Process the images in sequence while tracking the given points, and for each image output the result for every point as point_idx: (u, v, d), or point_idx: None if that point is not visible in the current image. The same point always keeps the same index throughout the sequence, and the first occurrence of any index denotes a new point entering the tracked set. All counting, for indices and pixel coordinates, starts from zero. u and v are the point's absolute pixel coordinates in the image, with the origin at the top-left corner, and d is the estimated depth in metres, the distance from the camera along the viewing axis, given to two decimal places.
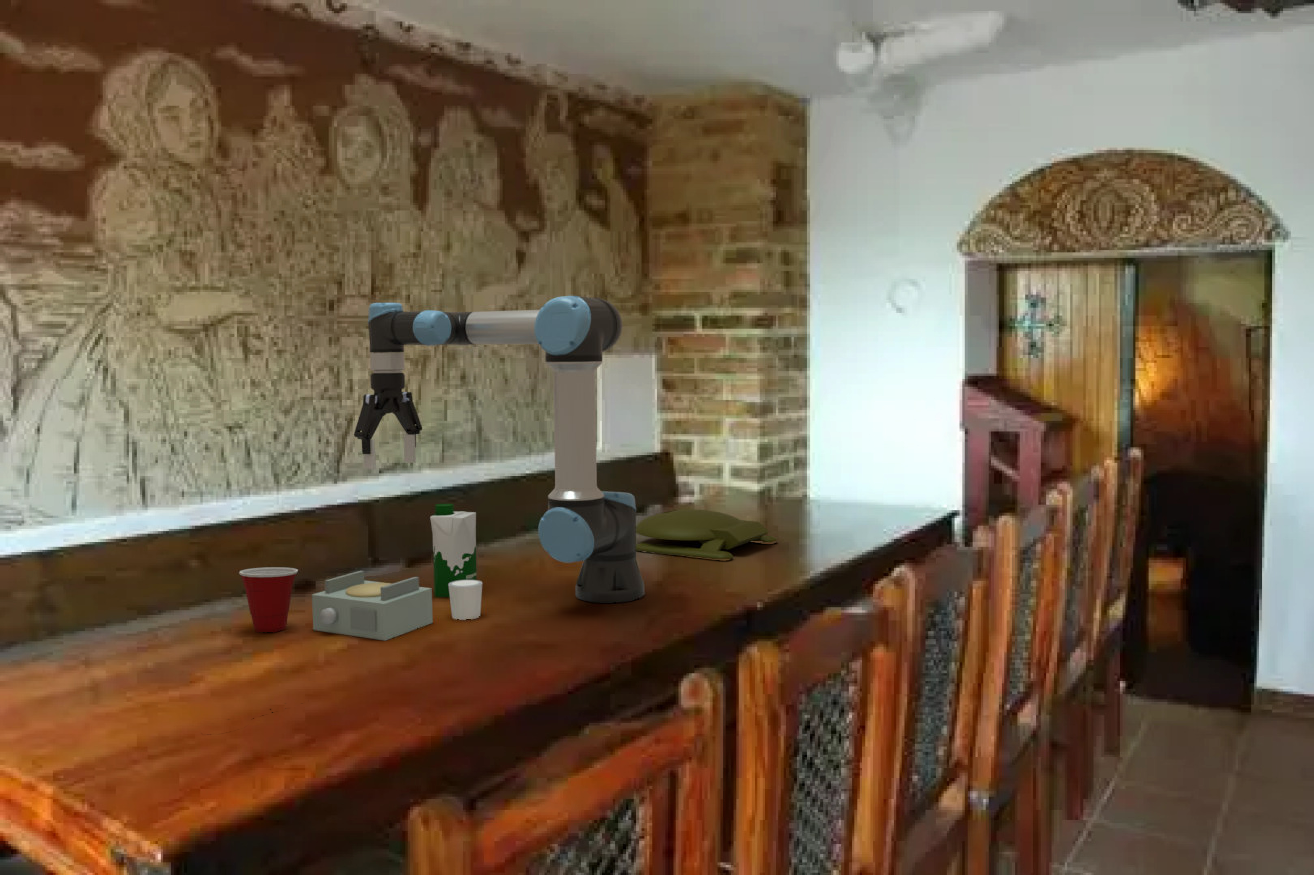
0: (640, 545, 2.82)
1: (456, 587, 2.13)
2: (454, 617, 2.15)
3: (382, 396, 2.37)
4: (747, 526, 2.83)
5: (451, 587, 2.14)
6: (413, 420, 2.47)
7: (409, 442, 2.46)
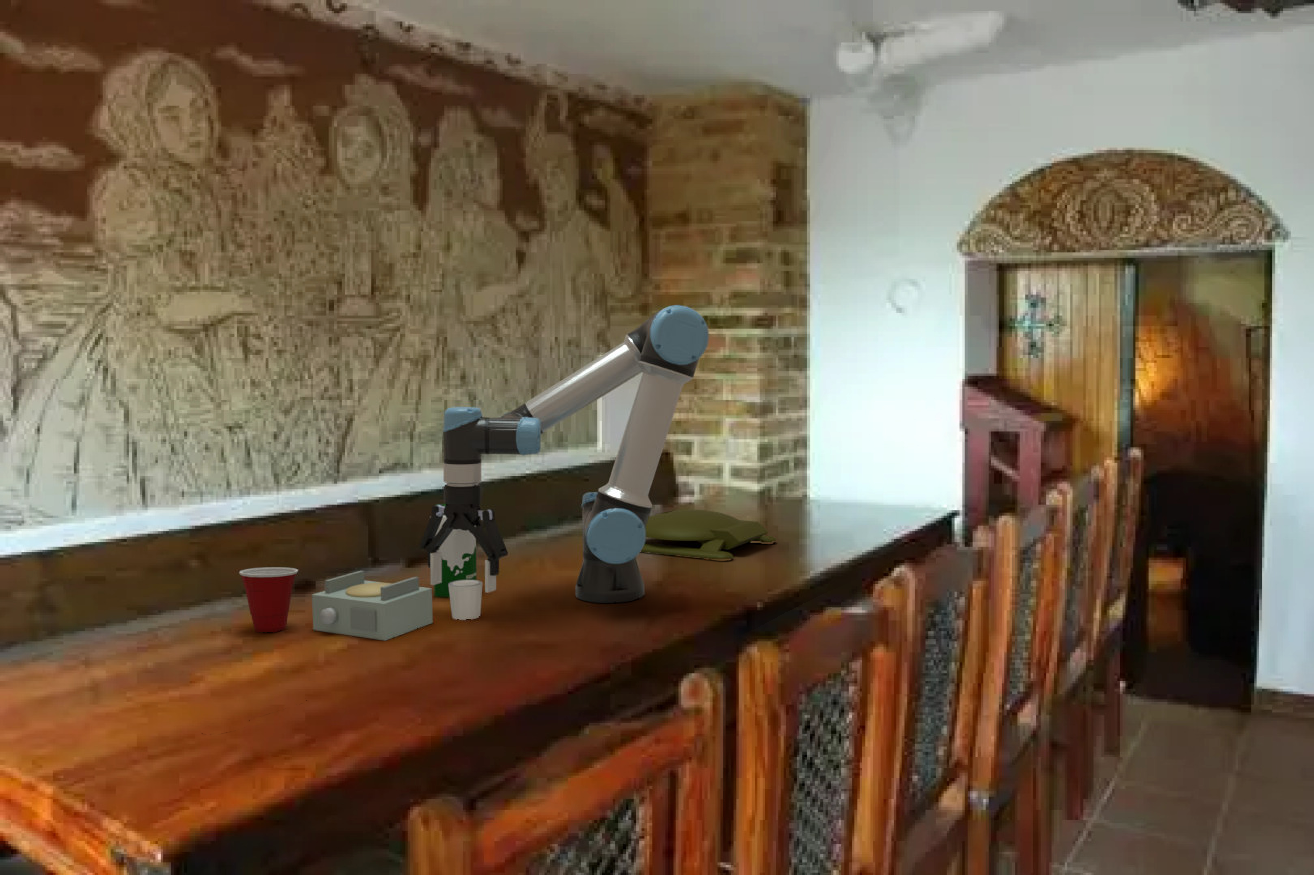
0: None
1: (456, 587, 2.13)
2: (454, 617, 2.15)
3: (446, 509, 2.15)
4: (747, 526, 2.83)
5: (451, 587, 2.14)
6: None
7: None
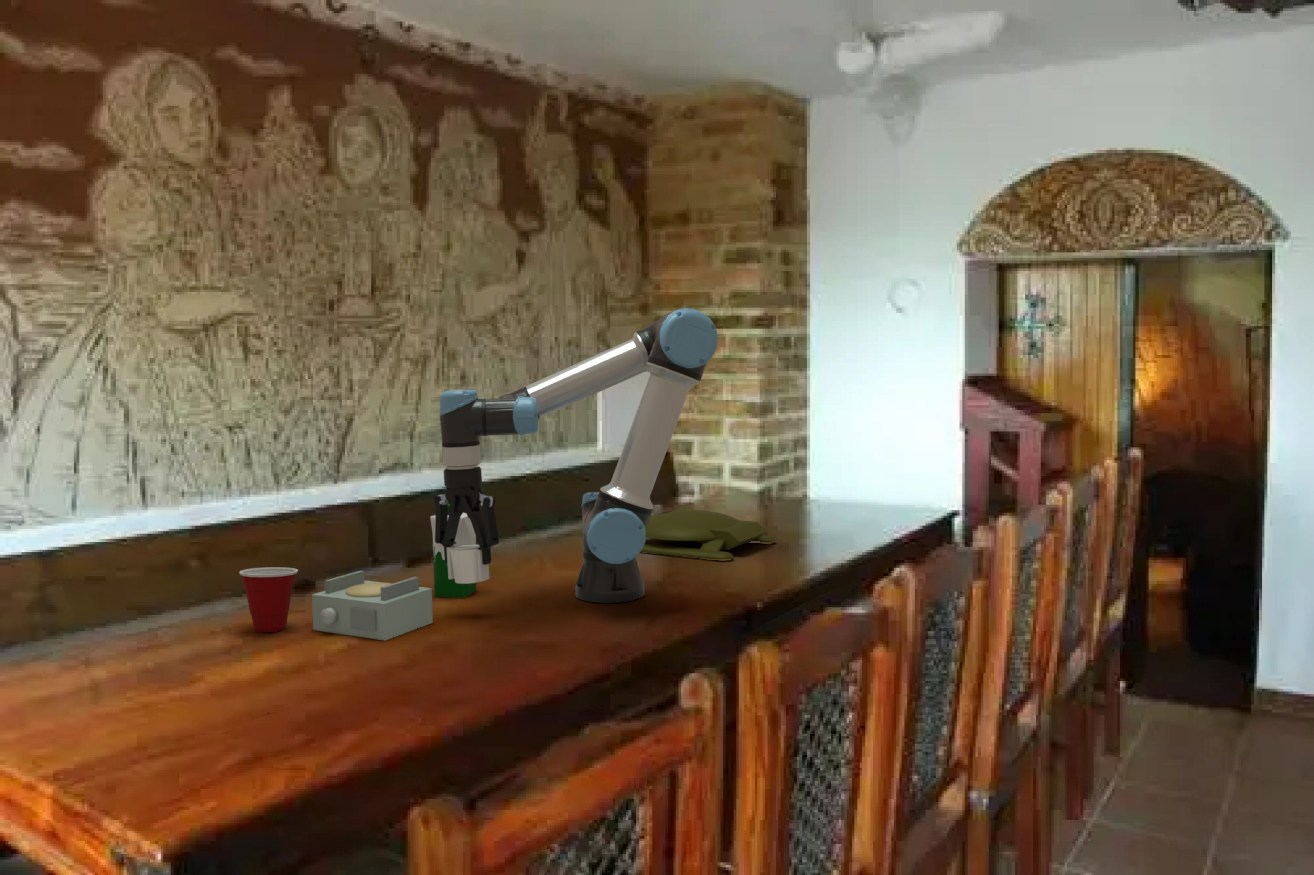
0: None
1: (458, 551, 2.13)
2: (457, 581, 2.14)
3: (447, 493, 2.15)
4: (746, 526, 2.83)
5: (453, 551, 2.13)
6: None
7: None
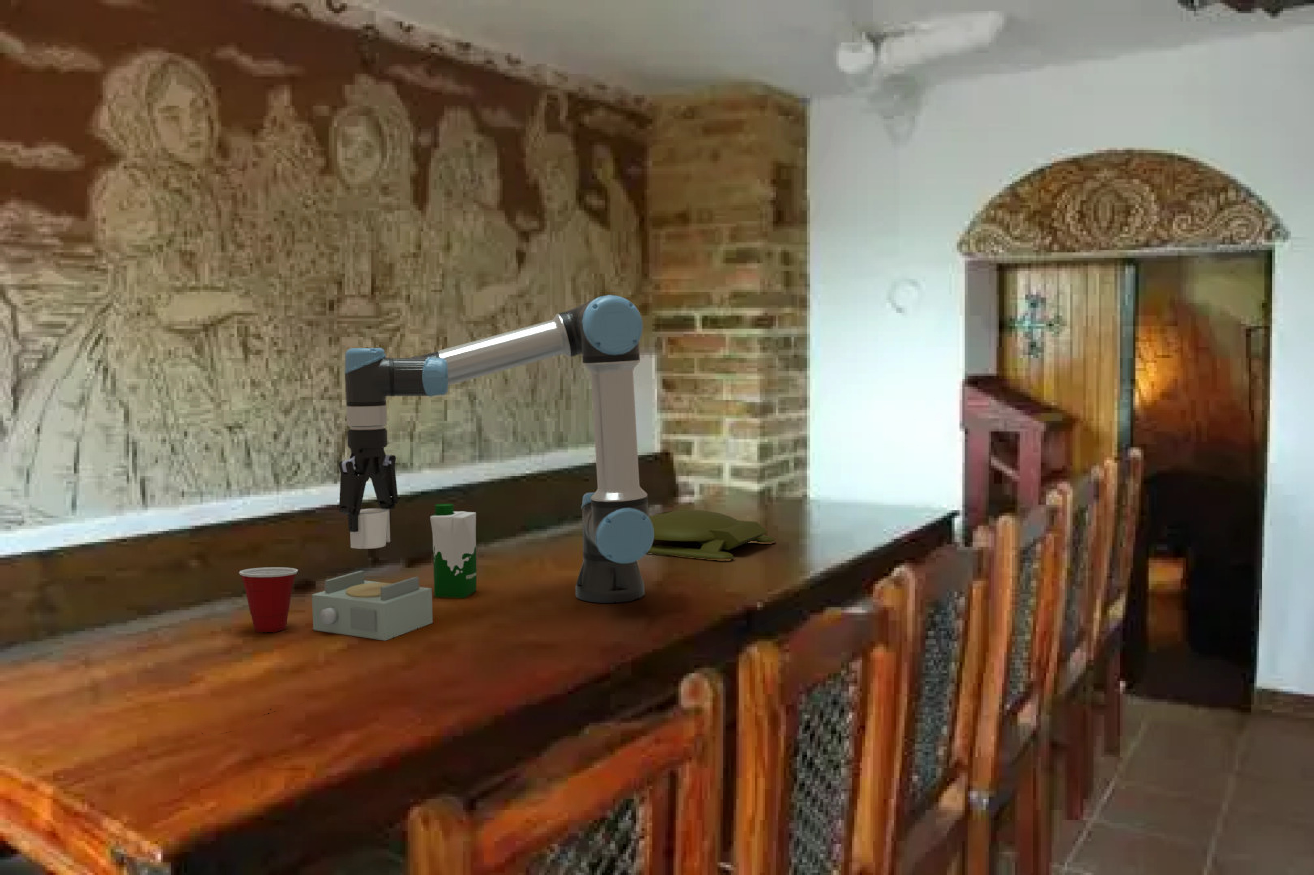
0: None
1: (383, 512, 2.06)
2: (378, 546, 2.06)
3: (360, 457, 2.03)
4: (746, 526, 2.83)
5: (378, 514, 2.05)
6: (390, 489, 2.12)
7: None
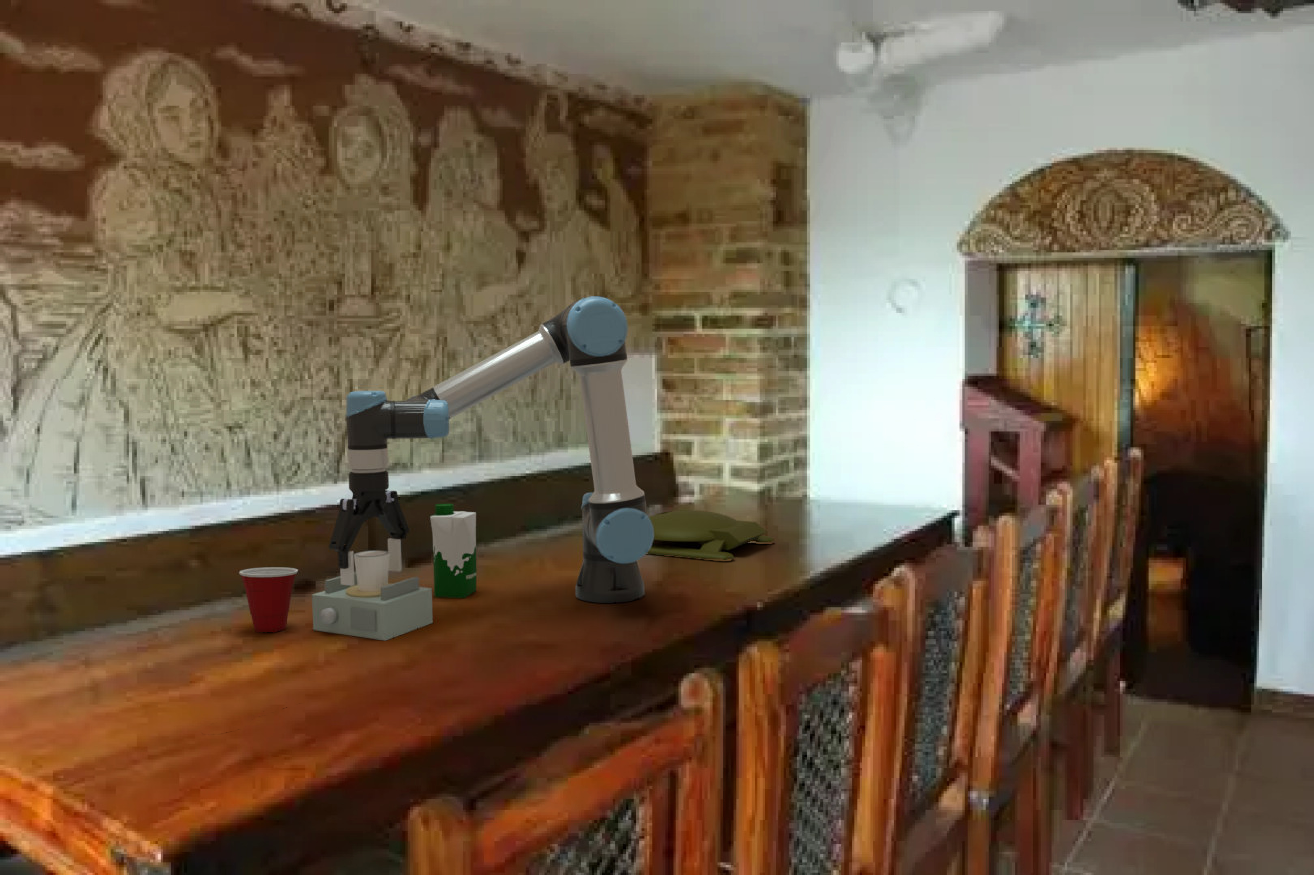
0: None
1: (386, 555, 2.07)
2: (380, 589, 2.07)
3: (362, 500, 2.04)
4: (745, 526, 2.82)
5: (380, 557, 2.06)
6: (399, 522, 2.15)
7: (394, 548, 2.14)
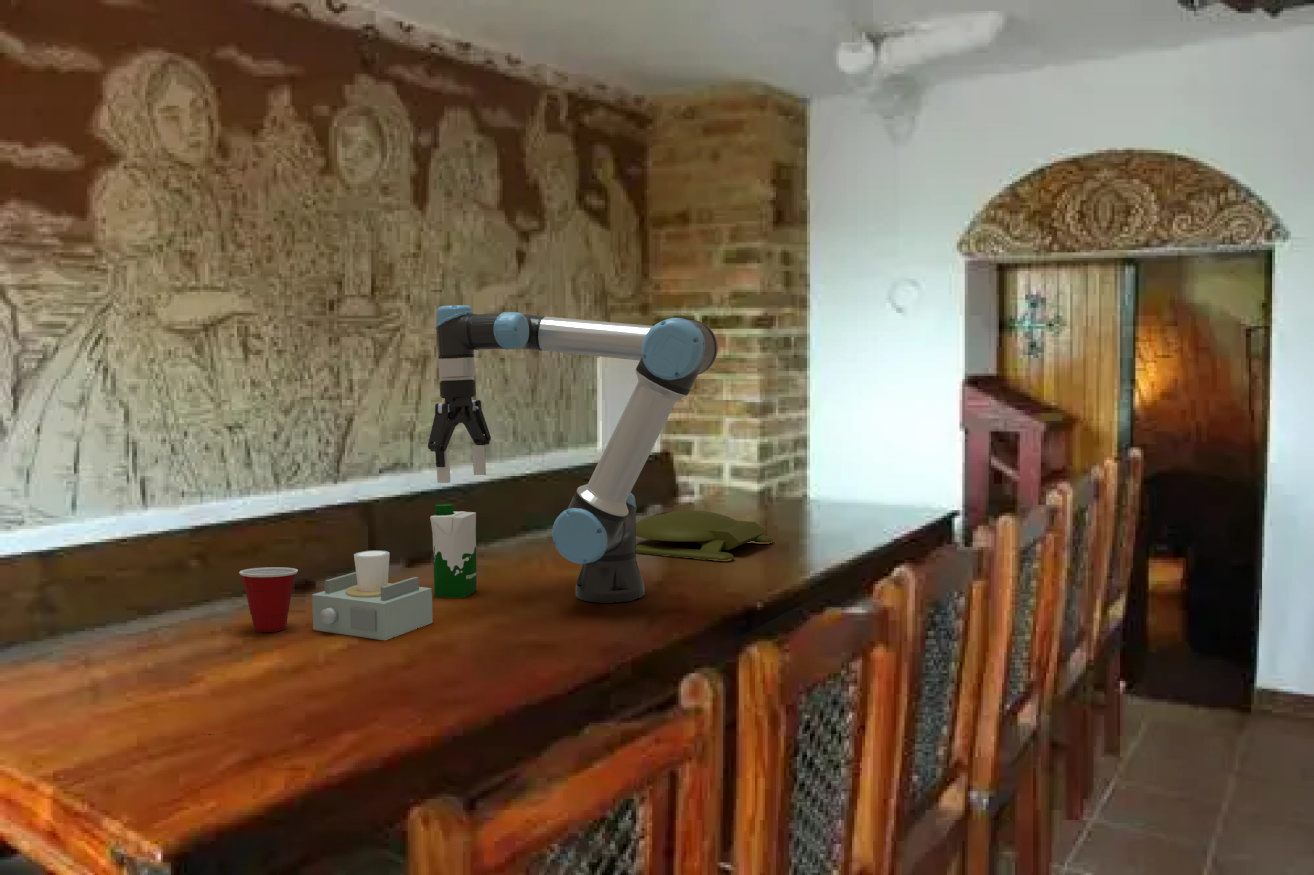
0: (638, 547, 2.80)
1: (386, 555, 2.07)
2: (380, 589, 2.07)
3: (454, 405, 2.22)
4: (745, 526, 2.82)
5: (380, 557, 2.06)
6: (482, 430, 2.33)
7: (479, 453, 2.32)
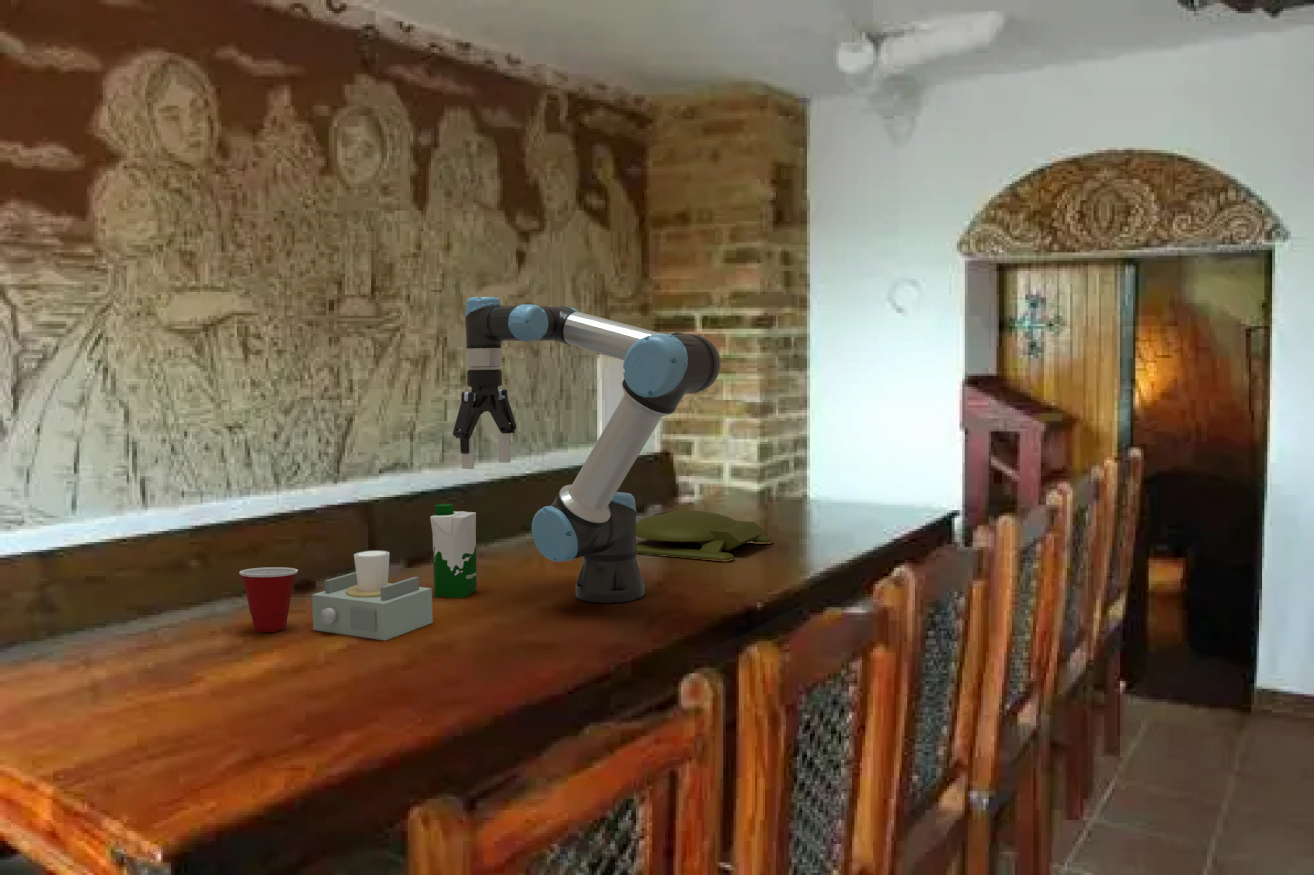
0: (638, 547, 2.80)
1: (386, 555, 2.07)
2: (380, 589, 2.07)
3: (480, 393, 2.29)
4: (745, 527, 2.82)
5: (380, 557, 2.06)
6: (508, 418, 2.39)
7: (504, 441, 2.39)
